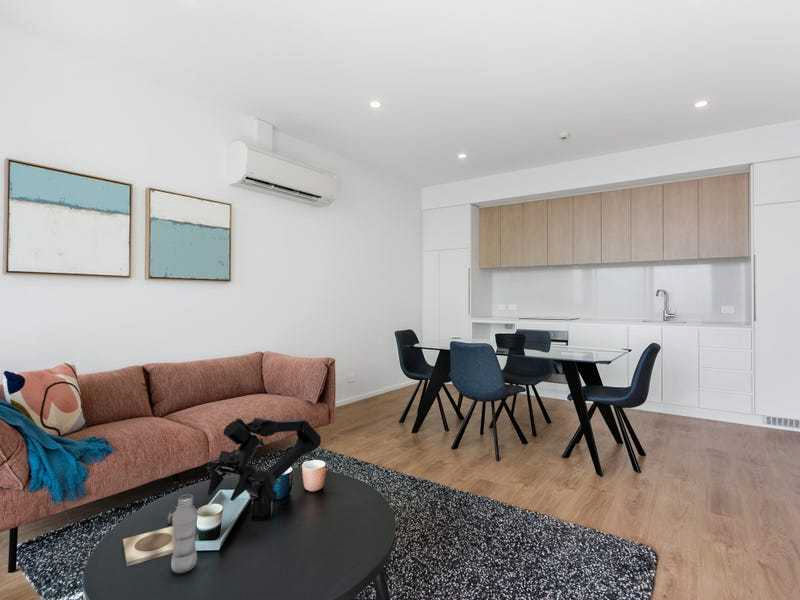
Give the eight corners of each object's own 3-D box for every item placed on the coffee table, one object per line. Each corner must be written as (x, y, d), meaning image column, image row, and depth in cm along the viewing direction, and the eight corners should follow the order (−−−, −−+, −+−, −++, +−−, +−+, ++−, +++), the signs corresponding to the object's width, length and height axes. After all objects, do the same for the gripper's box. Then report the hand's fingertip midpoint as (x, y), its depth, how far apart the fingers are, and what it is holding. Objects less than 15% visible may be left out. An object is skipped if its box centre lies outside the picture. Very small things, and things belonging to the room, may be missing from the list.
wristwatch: (165, 523, 144) (166, 508, 144) (184, 517, 148) (185, 502, 149) (169, 527, 141) (170, 512, 142) (189, 520, 146) (189, 505, 146)
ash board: (176, 528, 140) (176, 524, 140) (185, 549, 128) (185, 544, 128) (123, 542, 131) (123, 538, 131) (126, 566, 119) (126, 561, 119)
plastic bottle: (201, 563, 121) (203, 492, 122) (187, 577, 115) (189, 503, 115) (180, 561, 122) (182, 491, 123) (165, 576, 115) (167, 502, 116)
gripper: (211, 436, 142) (183, 481, 131) (256, 443, 135) (230, 491, 125) (228, 452, 149) (202, 497, 138) (271, 460, 142) (248, 507, 132)
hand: (219, 497), depth 133 cm, fingers open, 9 cm apart
